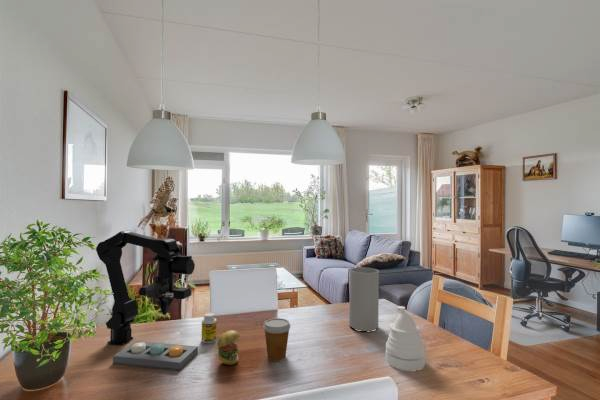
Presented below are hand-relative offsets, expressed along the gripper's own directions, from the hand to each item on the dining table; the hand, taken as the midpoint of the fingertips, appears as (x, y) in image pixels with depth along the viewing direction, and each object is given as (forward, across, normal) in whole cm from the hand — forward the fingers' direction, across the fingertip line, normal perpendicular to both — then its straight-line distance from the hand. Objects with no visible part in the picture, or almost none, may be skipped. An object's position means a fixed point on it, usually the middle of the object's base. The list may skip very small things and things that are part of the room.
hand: (164, 314), depth 120 cm
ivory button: (+11, -3, -9) cm, 15 cm away
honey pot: (+11, +87, +9) cm, 88 cm away
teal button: (+11, +4, -9) cm, 15 cm away
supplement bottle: (+12, +14, +8) cm, 20 cm away
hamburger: (+12, +29, -6) cm, 32 cm away
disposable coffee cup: (+11, +43, +2) cm, 45 cm away
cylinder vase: (+11, +73, +37) cm, 82 cm away
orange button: (+11, +11, -9) cm, 17 cm away
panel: (+12, +4, -9) cm, 15 cm away
